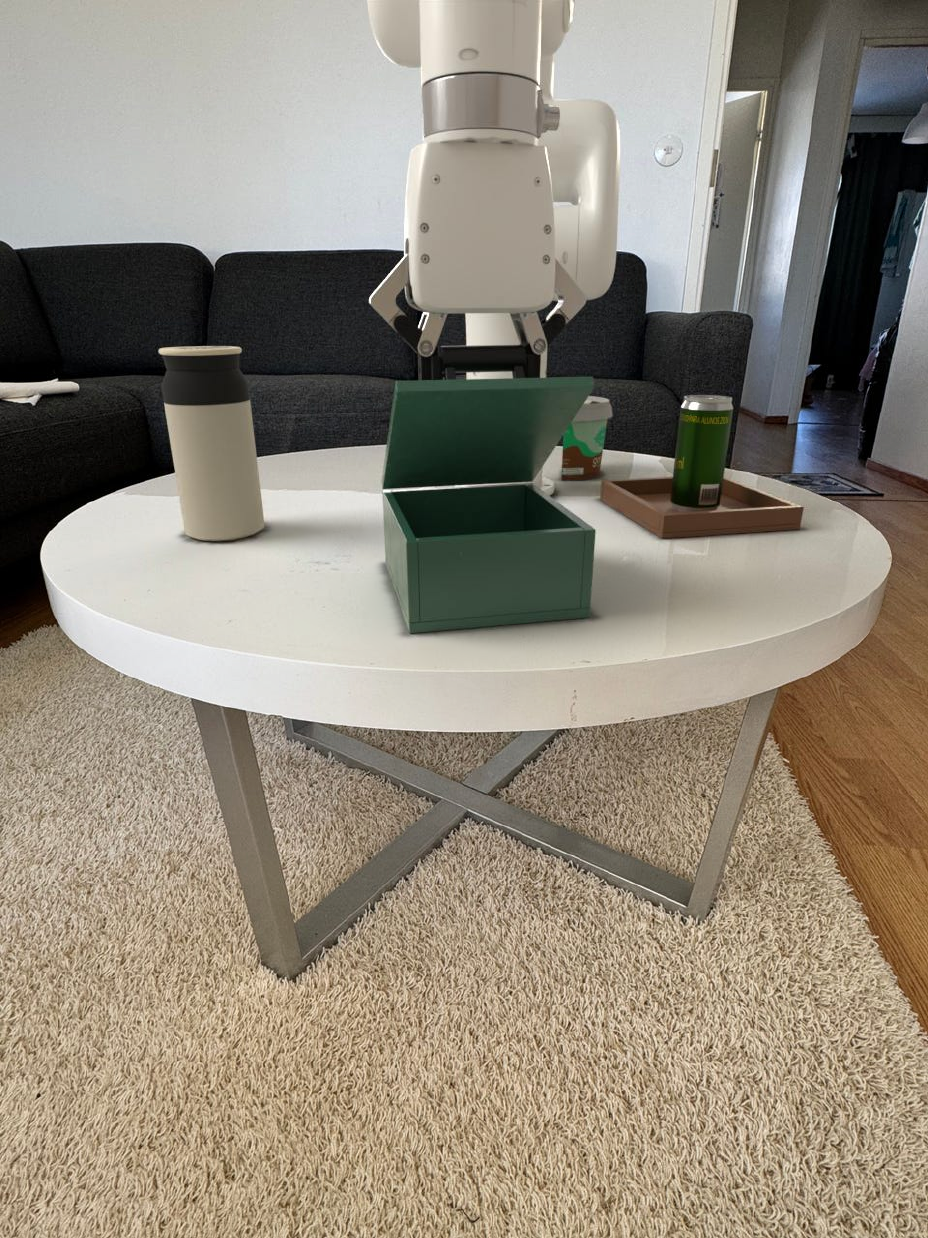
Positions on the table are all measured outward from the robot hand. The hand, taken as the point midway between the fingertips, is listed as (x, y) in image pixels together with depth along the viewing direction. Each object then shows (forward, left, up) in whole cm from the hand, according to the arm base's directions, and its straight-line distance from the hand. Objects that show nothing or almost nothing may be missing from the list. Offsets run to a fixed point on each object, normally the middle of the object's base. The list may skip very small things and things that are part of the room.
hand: (479, 408), depth 54 cm
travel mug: (-22, -22, -15) cm, 34 cm away
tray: (-18, +29, -14) cm, 37 cm away
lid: (-1, 0, -3) cm, 3 cm away
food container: (-41, +25, -15) cm, 50 cm away
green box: (0, 0, -14) cm, 14 cm away
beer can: (-18, +29, -14) cm, 37 cm away
